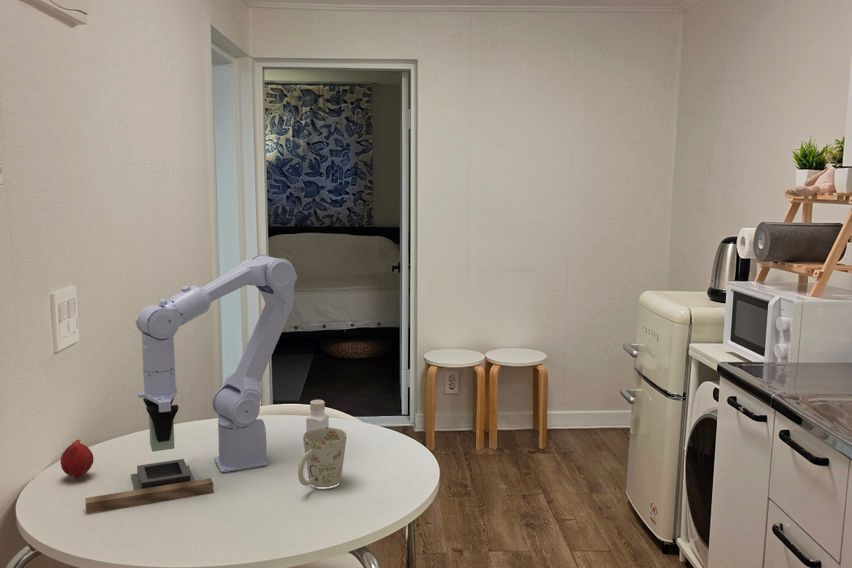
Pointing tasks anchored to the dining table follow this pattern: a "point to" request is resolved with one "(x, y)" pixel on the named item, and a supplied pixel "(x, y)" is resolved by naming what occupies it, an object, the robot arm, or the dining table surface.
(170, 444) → the stop block
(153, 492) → the door edge rail
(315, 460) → the mug
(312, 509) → the dining table surface
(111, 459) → the dining table surface
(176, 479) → the keeper
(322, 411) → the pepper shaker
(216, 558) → the dining table surface
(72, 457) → the onion
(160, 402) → the robot arm
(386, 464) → the dining table surface
